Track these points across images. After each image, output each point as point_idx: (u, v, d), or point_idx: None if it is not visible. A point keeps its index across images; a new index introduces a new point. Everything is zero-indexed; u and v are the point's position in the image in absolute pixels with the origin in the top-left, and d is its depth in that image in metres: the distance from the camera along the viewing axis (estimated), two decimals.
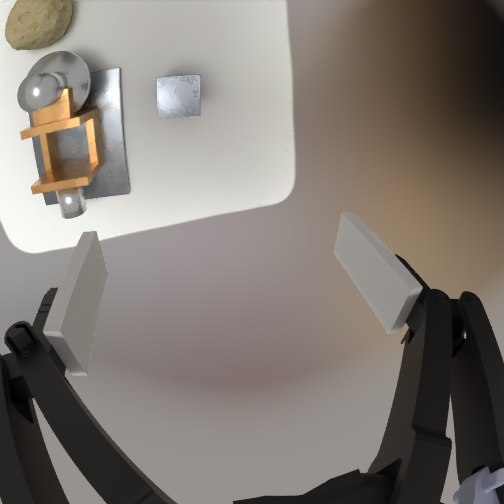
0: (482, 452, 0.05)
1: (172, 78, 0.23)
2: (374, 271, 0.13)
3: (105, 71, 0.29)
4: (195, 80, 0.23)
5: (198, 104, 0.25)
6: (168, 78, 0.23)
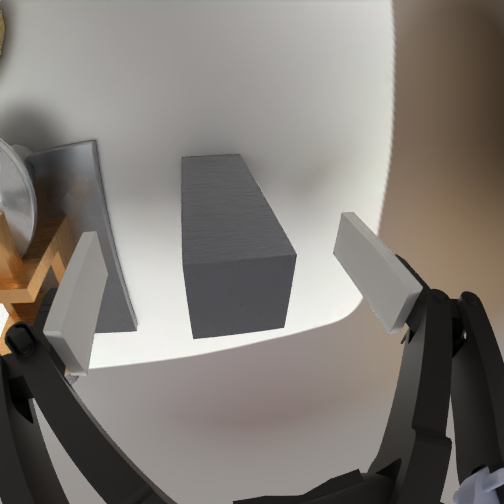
0: (482, 452, 0.05)
1: (225, 265, 0.10)
2: (374, 271, 0.13)
3: (67, 150, 0.16)
4: (283, 267, 0.11)
5: (283, 311, 0.12)
6: (214, 265, 0.10)
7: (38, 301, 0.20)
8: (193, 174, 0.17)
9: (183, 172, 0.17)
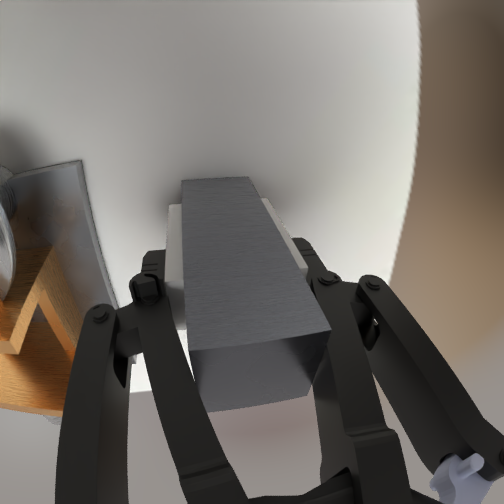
0: (444, 443, 0.06)
1: (242, 348, 0.08)
2: None
3: (50, 174, 0.14)
4: (314, 343, 0.08)
5: (308, 382, 0.10)
6: (229, 350, 0.08)
7: (29, 334, 0.18)
8: (195, 205, 0.14)
9: (183, 202, 0.14)
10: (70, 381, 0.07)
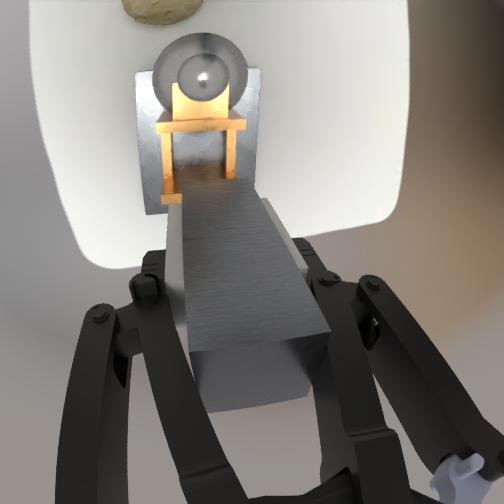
0: (444, 443, 0.06)
1: (242, 350, 0.08)
2: None
3: None
4: (314, 344, 0.08)
5: (308, 383, 0.10)
6: (229, 351, 0.08)
7: (189, 170, 0.33)
8: (196, 206, 0.14)
9: (184, 203, 0.14)
10: (70, 381, 0.07)
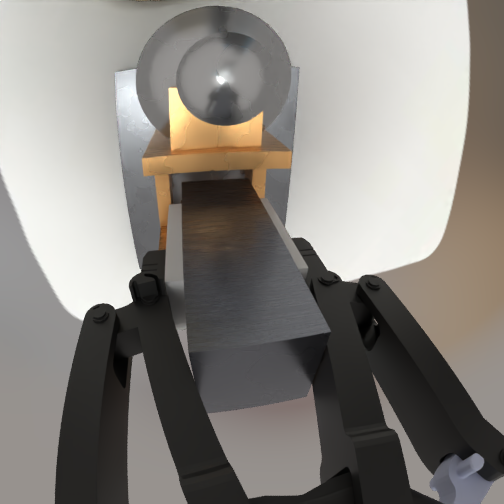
0: (444, 443, 0.06)
1: (242, 350, 0.08)
2: None
3: None
4: (314, 345, 0.08)
5: (307, 384, 0.10)
6: (229, 351, 0.08)
7: None
8: (195, 206, 0.14)
9: (183, 204, 0.14)
10: (70, 381, 0.07)
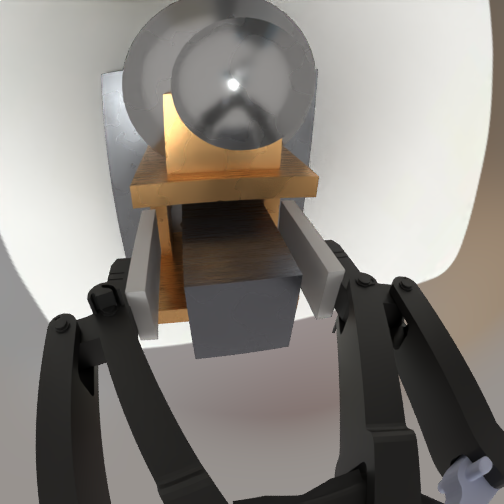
0: (456, 444, 0.06)
1: (228, 287, 0.10)
2: (303, 255, 0.14)
3: None
4: (289, 287, 0.10)
5: (288, 331, 0.12)
6: (217, 288, 0.10)
7: None
8: None
9: None
10: (39, 393, 0.06)
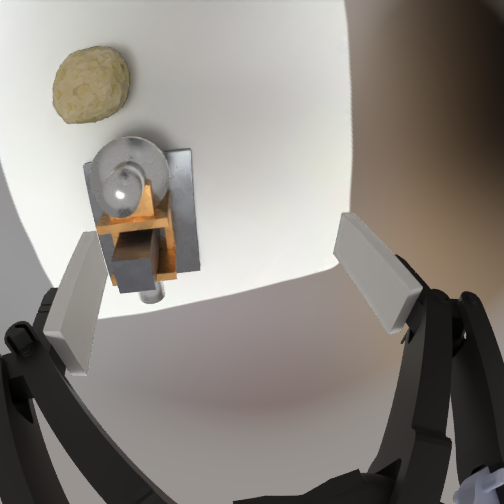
0: (482, 452, 0.05)
1: (124, 262, 0.27)
2: (374, 271, 0.13)
3: (175, 153, 0.34)
4: (145, 262, 0.28)
5: (152, 281, 0.29)
6: (121, 262, 0.27)
7: None
8: None
9: None
10: None
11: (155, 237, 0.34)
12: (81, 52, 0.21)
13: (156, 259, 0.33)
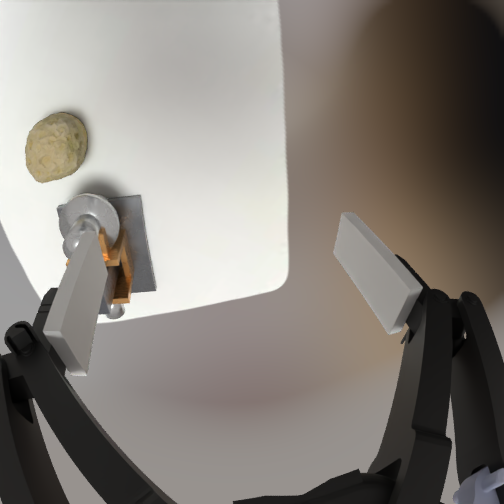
0: (482, 452, 0.05)
1: None
2: (374, 271, 0.13)
3: (128, 200, 0.41)
4: None
5: (107, 308, 0.36)
6: None
7: None
8: None
9: None
10: None
11: (112, 269, 0.40)
12: (43, 125, 0.27)
13: (112, 288, 0.40)
